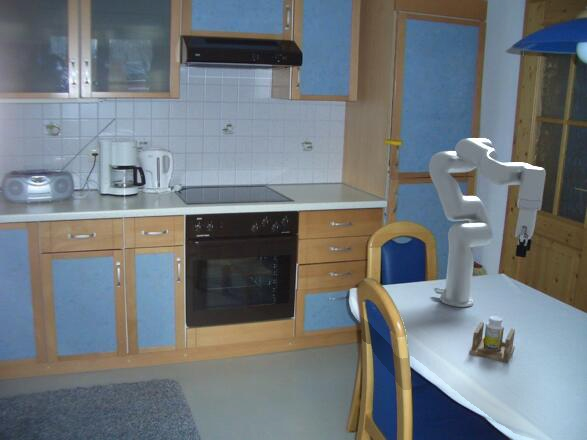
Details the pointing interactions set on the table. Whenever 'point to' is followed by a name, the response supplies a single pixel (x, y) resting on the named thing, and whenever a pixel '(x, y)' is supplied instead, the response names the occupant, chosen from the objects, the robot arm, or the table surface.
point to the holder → (499, 355)
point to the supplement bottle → (494, 333)
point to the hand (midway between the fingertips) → (522, 253)
